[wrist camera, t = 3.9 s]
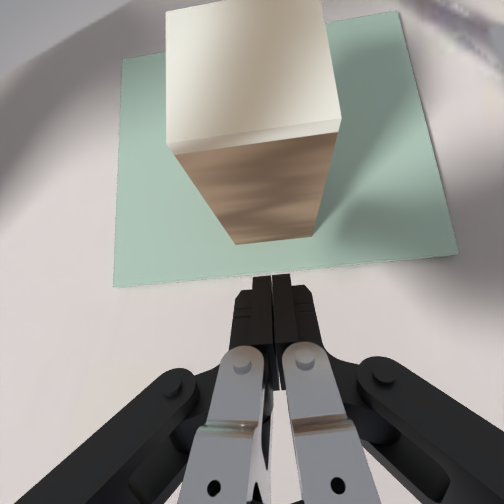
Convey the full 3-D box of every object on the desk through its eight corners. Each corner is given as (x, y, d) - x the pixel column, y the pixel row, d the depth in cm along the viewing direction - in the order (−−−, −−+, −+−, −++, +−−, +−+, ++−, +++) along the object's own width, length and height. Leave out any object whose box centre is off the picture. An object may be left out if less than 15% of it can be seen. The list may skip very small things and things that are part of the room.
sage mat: (117, 287, 20) (112, 286, 20) (125, 64, 25) (122, 59, 25) (455, 255, 18) (459, 253, 18) (394, 17, 23) (397, 10, 22)
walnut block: (235, 245, 20) (165, 143, 9) (231, 176, 21) (165, 11, 10) (311, 236, 19) (341, 117, 8) (302, 167, 20) (317, -18, 9)
